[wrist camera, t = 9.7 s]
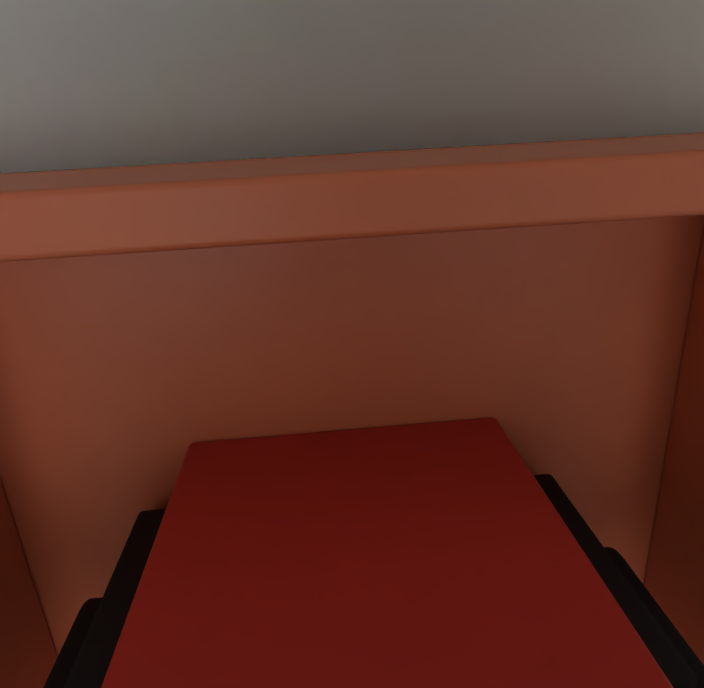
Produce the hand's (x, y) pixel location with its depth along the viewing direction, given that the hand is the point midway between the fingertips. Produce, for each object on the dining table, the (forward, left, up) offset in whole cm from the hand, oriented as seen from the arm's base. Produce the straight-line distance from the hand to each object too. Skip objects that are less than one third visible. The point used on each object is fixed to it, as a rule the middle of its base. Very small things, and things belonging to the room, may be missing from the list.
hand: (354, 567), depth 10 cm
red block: (0, 0, 0) cm, 0 cm away
